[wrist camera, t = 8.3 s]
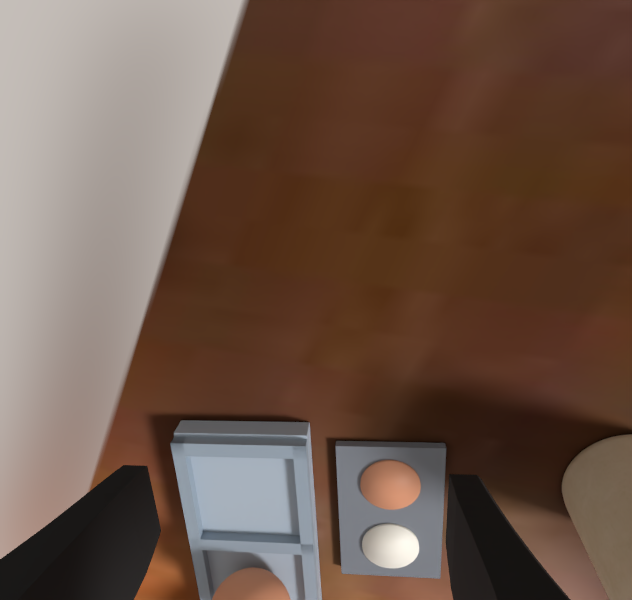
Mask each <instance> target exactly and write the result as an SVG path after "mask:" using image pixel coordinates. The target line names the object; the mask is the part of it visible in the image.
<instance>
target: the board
mask: <svg viewBox="0 0 632 600" xmlns="http://www.w3.org/2000/svg"><path fill="white" fill-rule="evenodd" d="M170 444H171V450H172V455H173V460H174V465H175V471H176V476H177V481H178V486H179V492H180V497H181V502H182V507H183V513H184V518H185V523H186V528H187V533H188V539H189V544H190V549H191V554H192V560H193V565H194V570H195V575H196V581H197V586H198V591H199V596H200V600H212V598H213V596H214V594H215V592H216V590H217V588H218V587H219V586H220V584H221V583H222V582H223V581H224V580H225V579H226V578H227V577H228V576H230V575H231V574H233V573H234V572H236V571H238V570H241V569H244V568H251V567H255V568H261V569H265V570H268V571H270V572H271V573H273V574H274V575H276V576H277V577H278V578H279V579H280V580H281V581H282V583H283V584H284V585H285V587H286V589H287V591H288V593H289V596H290V599H291V600H322V594H321V580H320V565H319V551H318V537H317V522H316V508H315V494H314V480H313V465H312V451H311V437H310V422H259V421H198V420H181V421H180V423H179V425H178V426H177V428H176V430H175V431H174V438H173V440H172V441H171V443H170Z"/></svg>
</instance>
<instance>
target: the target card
mask: <svg viewBox="0 0 632 600" xmlns="http://www.w3.org/2000/svg"><path fill="white" fill-rule="evenodd" d="M445 465H446V445H445V443H424V442H375V441H336V466H337V487H338V507H339V527H340V548H341V568H342V574H361V575H380V576H400V577H419V578H439V579H440V572H441V551H442V529H443V508H444V487H445Z"/></svg>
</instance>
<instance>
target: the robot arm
mask: <svg viewBox="0 0 632 600" xmlns="http://www.w3.org/2000/svg"><path fill="white" fill-rule="evenodd" d="M160 532H161V528H160V524H159V519H158V514H157V510H156V505H155V500H154V496H153V491H152V486H151V482H150V477H149V472H148V468H147V466H131V465H123V466H122V467H121V468H119V469H118V470H116V471H115V472H114V473H112V474H111V475H110V476H109V477H107V478H106V479H105V480H104V481H102V482H101V483H100V484H98V485H97V486H96V487H95V488H94V489H92V490H91V491H90V492H89V493H87V494H86V495H85V496H84V497H82V498H81V499H80V500H79V501H77V502H76V503H75V504H73V505H72V506H71V507H70V508H68V509H67V510H66V511H65V512H63V513H62V514H61V515H60V516H58V517H57V518H56V519H54V520H53V521H52V522H51V523H49V524H48V525H47V526H45V527H44V528H43V529H41V530H40V531H39V532H37V533H36V534H34V535H33V536H32V537H30V538H29V539H28V540H27V541H25V542H24V543H22V544H21V545H20V546H18V547H17V548H16V549H14V550H13V551H11V552H10V553H9V554H7V555H6V556H5V557H3V558H2V559H0V600H134V598H135V596H136V594H137V592H138V590H139V588H140V585H141V583H142V581H143V579H144V577H145V575H146V573H147V570H148V567H149V564H150V562H151V559H152V556H153V553H154V550H155V547H156V544H157V541H158V538H159V535H160ZM446 549H447V558H448V566H449V574H450V582H451V590H452V594H453V599H454V600H570V599H569V598H568V596H567V595H566V594H565V593H564V592H563V591H562V589H561V588H560V587H559V586H558V585H557V583H556V582H555V581H554V580H553V579H552V578H551V576H550V575H549V574H548V573H547V572H546V570H545V569H544V568H543V567H542V565H541V564H540V563H539V562H538V560H537V559H536V558H535V556H534V555H533V554H532V552H531V551H530V550H529V549H528V547H527V546H526V545H525V543H524V542H523V541H522V539H521V538H520V537H519V535H518V534H517V533H516V531H515V530H514V528H513V527H512V526H511V524H510V523H509V521H508V520H507V518H506V517H505V515H504V514H503V513H502V511H501V510H500V508H499V507H498V505H497V504H496V502H495V501H494V499H493V497H492V496H491V494H490V493H489V491H488V489H487V488H486V486H485V484H484V483H483V481H482V479H481V478H480V477H479V476H477V475H459V474H449V489H448V509H447V529H446Z"/></svg>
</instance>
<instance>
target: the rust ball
mask: <svg viewBox="0 0 632 600" xmlns="http://www.w3.org/2000/svg"><path fill="white" fill-rule="evenodd" d="M212 600H291V599H290V596H289V593H288V591H287V589H286V587H285V585H284V584H283V583H282V581H281V580H280V579H279V578H278V577H277V576H276V575H274V574H273V573H271V572H270V571H268V570H265V569H261V568H255V567H251V568H244V569H241V570H238V571H236V572H234V573H233V574H231V575H230V576H228V577H227V578H226V579H225V580H224V581H223V582H222V583H221V584H220V586H219V587H218V588H217V590H216V592H215V594H214V596H213V598H212Z"/></svg>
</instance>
